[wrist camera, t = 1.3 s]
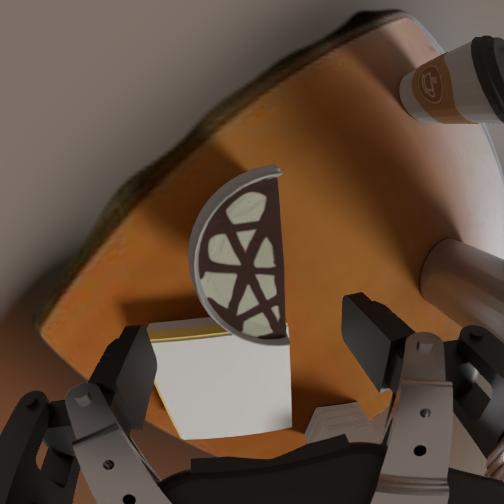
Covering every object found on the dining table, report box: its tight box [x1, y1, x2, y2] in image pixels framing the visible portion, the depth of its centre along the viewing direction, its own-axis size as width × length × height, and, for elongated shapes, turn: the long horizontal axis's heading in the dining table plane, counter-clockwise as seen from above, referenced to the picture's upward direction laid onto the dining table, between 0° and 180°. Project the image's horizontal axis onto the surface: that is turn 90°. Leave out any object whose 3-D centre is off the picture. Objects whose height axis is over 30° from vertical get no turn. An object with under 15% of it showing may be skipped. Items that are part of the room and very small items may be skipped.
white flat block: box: [147, 317, 292, 439], centre depth 28 cm, size 14×16×4 cm
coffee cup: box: [399, 36, 504, 124], centre depth 16 cm, size 8×8×15 cm
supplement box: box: [305, 402, 380, 444], centre depth 29 cm, size 7×7×13 cm
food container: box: [188, 165, 291, 346], centre depth 21 cm, size 12×6×10 cm, turn 5°
